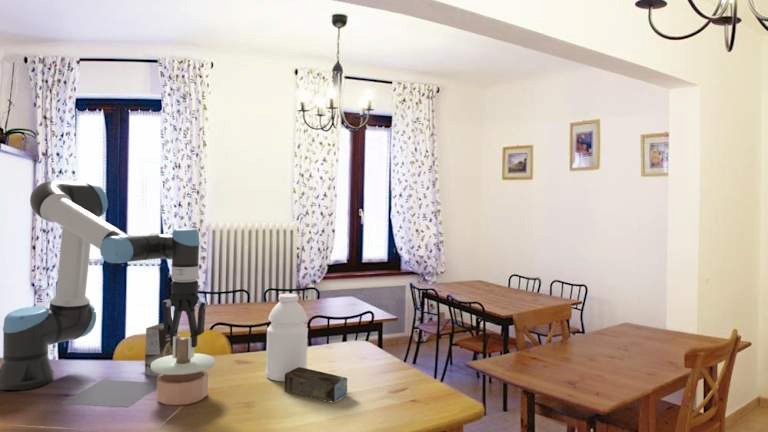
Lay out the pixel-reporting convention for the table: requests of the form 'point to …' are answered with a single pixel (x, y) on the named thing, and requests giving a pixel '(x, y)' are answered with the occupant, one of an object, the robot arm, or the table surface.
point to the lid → (182, 361)
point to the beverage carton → (315, 384)
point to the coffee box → (156, 346)
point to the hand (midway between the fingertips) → (183, 357)
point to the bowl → (182, 388)
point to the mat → (112, 393)
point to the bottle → (286, 338)
